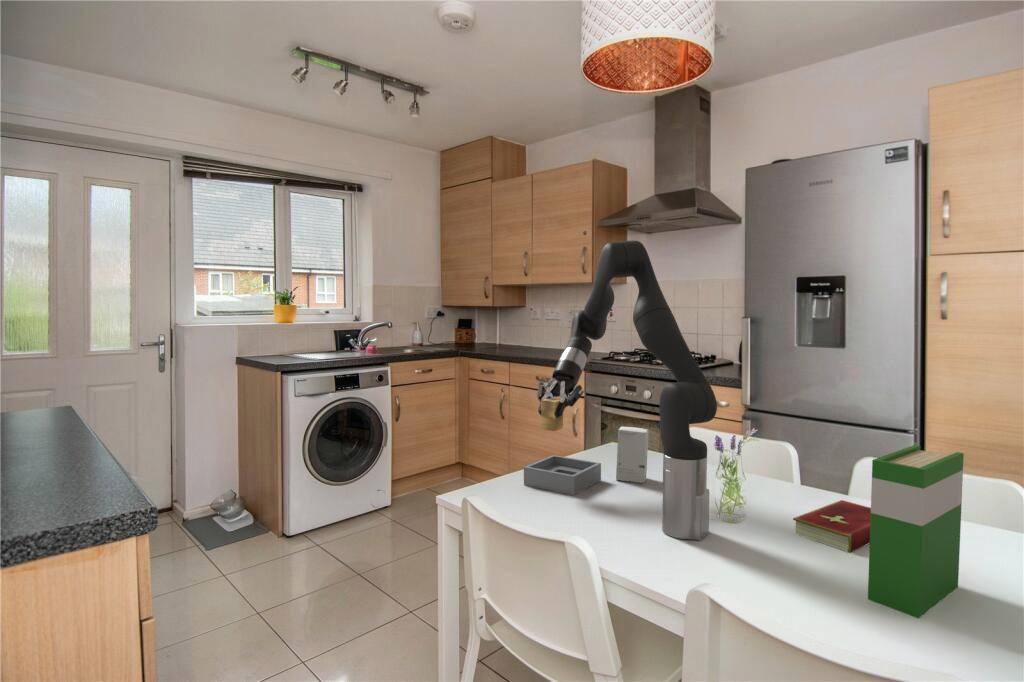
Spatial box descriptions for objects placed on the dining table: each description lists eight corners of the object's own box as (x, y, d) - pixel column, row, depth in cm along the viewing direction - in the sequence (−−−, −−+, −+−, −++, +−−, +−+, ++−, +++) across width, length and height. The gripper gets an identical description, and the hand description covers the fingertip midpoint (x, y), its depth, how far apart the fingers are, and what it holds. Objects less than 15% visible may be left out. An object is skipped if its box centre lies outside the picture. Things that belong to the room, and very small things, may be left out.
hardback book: (909, 571, 107) (914, 444, 105) (958, 586, 101) (963, 453, 99) (867, 599, 97) (872, 459, 95) (918, 618, 91) (924, 469, 89)
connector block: (562, 428, 157) (563, 399, 157) (554, 431, 154) (555, 401, 153) (549, 426, 160) (549, 398, 159) (540, 429, 156) (541, 400, 156)
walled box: (600, 480, 164) (601, 463, 164) (573, 495, 151) (574, 476, 150) (553, 471, 173) (553, 455, 173) (523, 484, 160) (523, 467, 160)
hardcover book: (897, 532, 126) (897, 513, 126) (850, 555, 115) (850, 534, 115) (841, 516, 136) (841, 498, 136) (792, 535, 125) (793, 516, 124)
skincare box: (615, 480, 163) (616, 429, 162) (619, 475, 169) (619, 425, 168) (645, 483, 160) (646, 431, 160) (648, 477, 166) (648, 427, 165)
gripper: (544, 357, 166) (521, 404, 156) (588, 359, 158) (566, 410, 148) (553, 373, 170) (531, 420, 161) (596, 376, 162) (576, 426, 153)
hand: (548, 415), depth 155 cm, fingers closed on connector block, 4 cm apart
